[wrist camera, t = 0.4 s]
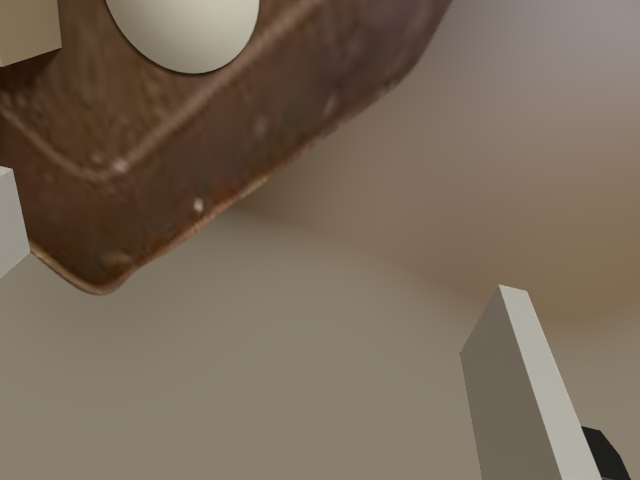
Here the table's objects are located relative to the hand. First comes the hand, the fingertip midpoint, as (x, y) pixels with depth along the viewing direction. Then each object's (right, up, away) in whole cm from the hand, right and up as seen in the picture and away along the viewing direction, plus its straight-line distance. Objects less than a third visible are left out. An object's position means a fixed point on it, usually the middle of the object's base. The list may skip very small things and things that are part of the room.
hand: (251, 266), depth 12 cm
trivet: (-9, +20, +21) cm, 30 cm away
